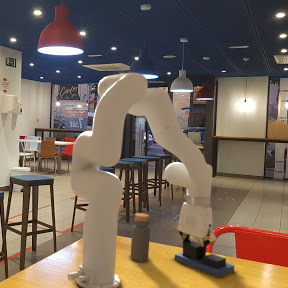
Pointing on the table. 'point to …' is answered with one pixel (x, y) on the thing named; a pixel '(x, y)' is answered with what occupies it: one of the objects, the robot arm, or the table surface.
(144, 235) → the bottle
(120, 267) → the table surface
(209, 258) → the pad
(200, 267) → the frame
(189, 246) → the pad
